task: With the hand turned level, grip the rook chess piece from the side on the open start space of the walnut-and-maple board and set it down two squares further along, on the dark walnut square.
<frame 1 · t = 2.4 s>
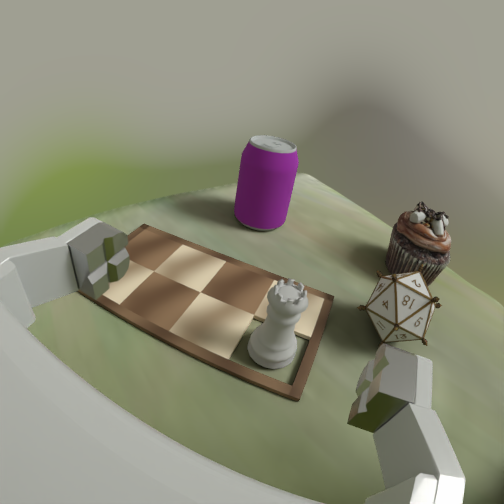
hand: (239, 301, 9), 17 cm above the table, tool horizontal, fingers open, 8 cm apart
cupcake: (408, 271, 42), on the table
game die: (385, 332, 32), on the table
board: (200, 295, 32), on the table
beverage can: (258, 220, 46), on the table
rook chess piece: (270, 352, 28), resting in board
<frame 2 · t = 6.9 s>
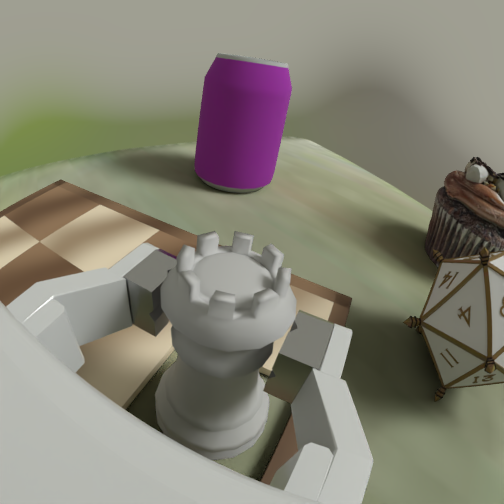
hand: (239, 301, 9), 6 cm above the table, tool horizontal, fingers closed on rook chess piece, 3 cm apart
cupcake: (456, 263, 25), on the table
game die: (442, 366, 15), on the table
board: (97, 285, 16), on the table
beverage can: (232, 180, 30), on the table
rook chess piece: (210, 415, 12), resting in board, touching gripper
when the fingers open (7 cm above the table, at t = 12.5 s): rook chess piece stays where it is, resting on board.
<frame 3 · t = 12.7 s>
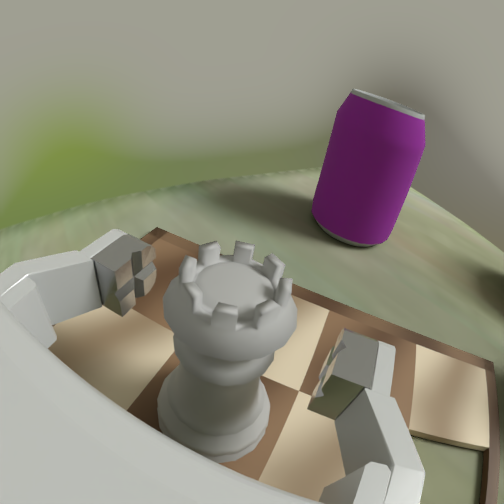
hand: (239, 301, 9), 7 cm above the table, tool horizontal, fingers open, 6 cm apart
board: (296, 395, 14), on the table
beverage can: (347, 228, 28), on the table
rook chess piece: (211, 419, 12), resting on board
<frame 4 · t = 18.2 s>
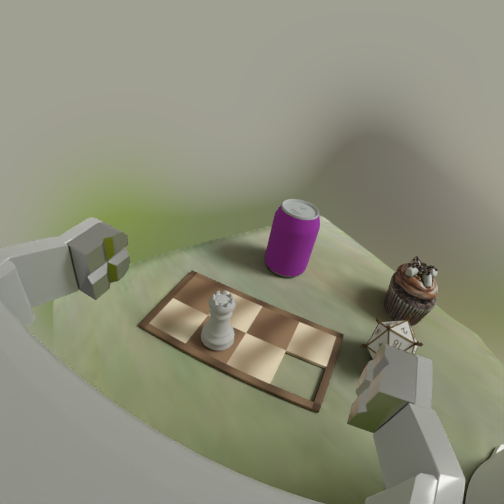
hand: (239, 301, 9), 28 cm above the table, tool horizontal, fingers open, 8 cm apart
cupcake: (402, 310, 52), on the table
game die: (380, 362, 42), on the table
board: (245, 335, 43), on the table
beverage can: (284, 266, 57), on the table
rook chess piece: (217, 340, 41), resting on board
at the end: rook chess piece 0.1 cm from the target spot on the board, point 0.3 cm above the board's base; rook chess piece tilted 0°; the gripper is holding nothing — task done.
